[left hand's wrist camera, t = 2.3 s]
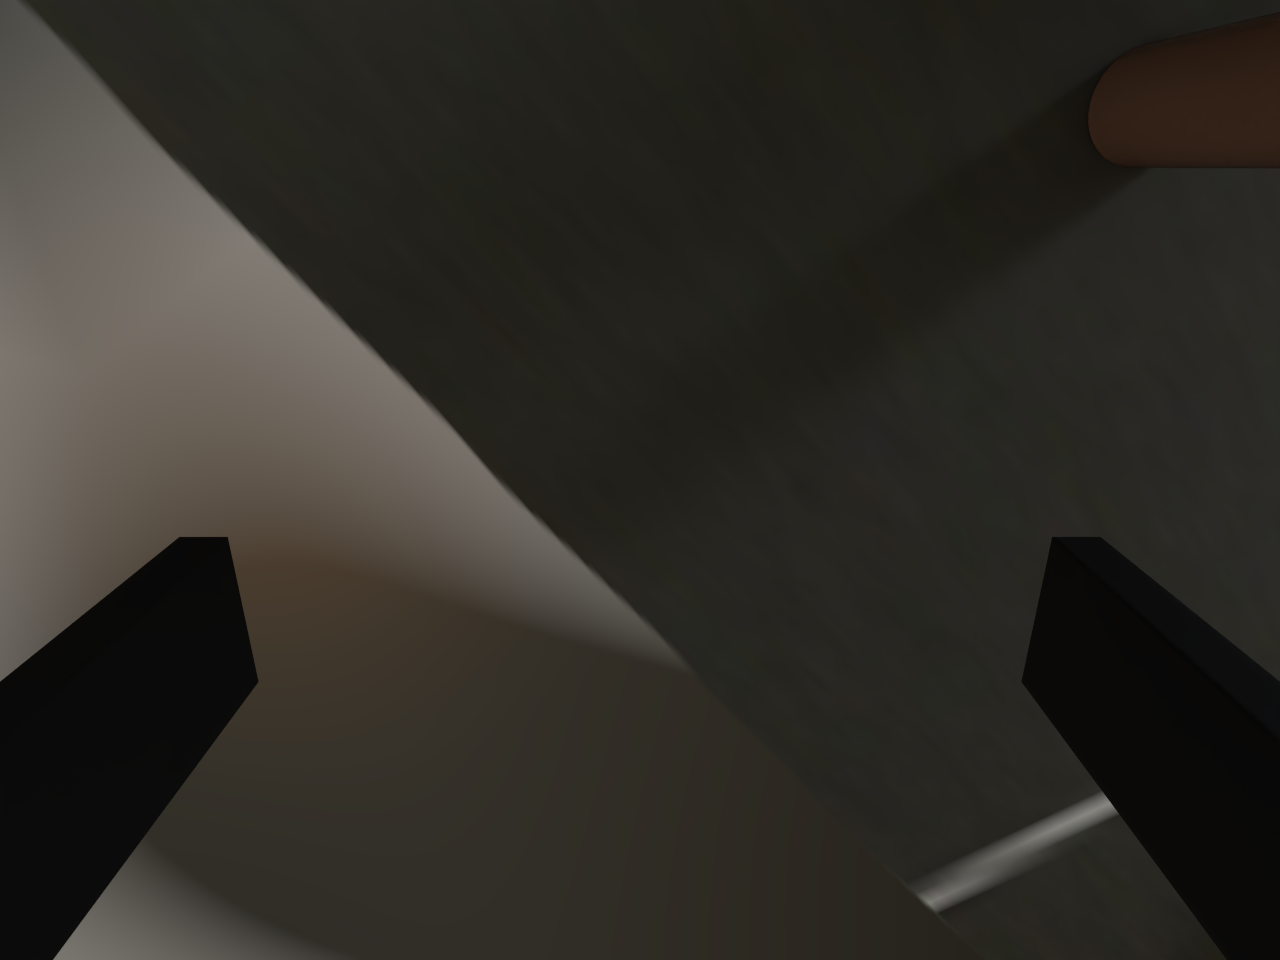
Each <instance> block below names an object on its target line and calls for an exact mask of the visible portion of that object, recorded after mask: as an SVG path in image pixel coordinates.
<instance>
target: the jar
mask: <svg viewBox="0 0 1280 960" xmlns="http://www.w3.org/2000/svg"><path fill="white" fill-rule="evenodd" d="M1088 126H1089V132H1090V136H1091V139H1092V141H1093V144H1094V145H1095V147H1096V149H1097V150H1098V151H1099V153H1100V154H1101V155H1102V156H1103V157H1104V158H1106V159H1107V160H1108V161H1110V162H1112V163H1114V164H1116V165H1118V166H1123V167H1129V168H1280V12H1276V13H1272V14H1268V15H1264V16H1260V17H1256V18H1252V19H1247V20H1243V21H1239V22H1235V23H1231V24H1227V25H1222V26H1218V27H1214V28H1210V29H1206V30H1202V31H1198V32H1193V33H1189V34H1185V35H1181V36H1177V37H1173V38H1168V39H1164V40H1160V41H1156V42H1152V43H1148V44H1144V45H1141V46H1138V47H1136V48H1134V49H1132V50H1130V51H1128V52H1127V53H1125V54H1124V55H1122V56H1121V57H1120V58H1118V59H1117V60H1116V61H1115V62H1114V63H1113V64H1112V65H1111V66H1110V67H1109V68H1108V69H1107V71H1106V72H1105V73H1104V74H1103V76H1102V77H1101V79H1100V80H1099V82H1098V84H1097V86H1096V88H1095V90H1094V93H1093V95H1092V98H1091V102H1090V106H1089V112H1088Z"/></svg>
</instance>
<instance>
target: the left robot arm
mask: <svg viewBox="0 0 1280 960" xmlns="http://www.w3.org/2000/svg"><path fill="white" fill-rule="evenodd" d="M257 683H258V678H257V673H256V668H255V663H254V659H253V654H252V649H251V645H250V640H249V635H248V630H247V626H246V621H245V616H244V612H243V607H242V602H241V597H240V593H239V588H238V583H237V579H236V574H235V569H234V565H233V560H232V555H231V550H230V546H229V541H228V537H179V538H178V539H177V540H175V541H174V542H173V543H172V544H170V545H169V546H168V547H167V548H165V549H164V550H163V551H162V552H160V553H159V554H158V555H157V556H155V557H154V558H153V559H152V560H150V561H149V562H148V563H147V564H146V565H144V566H143V567H142V568H141V569H139V570H138V571H137V572H136V573H134V574H133V575H132V576H131V577H129V578H128V579H127V580H126V581H124V582H123V583H122V584H121V585H120V586H118V587H117V588H116V589H115V590H113V591H112V592H111V593H110V594H108V595H107V596H106V597H105V598H103V599H102V600H101V601H100V602H98V603H97V604H96V605H95V606H93V607H92V608H91V609H90V610H88V611H87V612H86V613H85V614H84V615H82V616H81V617H80V618H79V619H77V620H76V621H75V622H74V623H72V624H71V625H70V626H69V627H67V628H66V629H65V630H64V631H62V632H61V633H60V634H59V635H58V636H56V637H55V638H54V639H53V640H51V641H50V642H49V643H48V644H46V645H45V646H44V647H43V648H41V649H40V650H39V651H38V652H36V653H35V654H34V655H33V656H31V657H30V658H29V659H28V660H27V661H25V662H24V663H23V664H22V665H20V666H19V667H18V668H17V669H15V670H14V671H13V672H12V673H10V674H9V675H8V676H7V677H5V678H4V679H3V680H2V681H1V682H0V960H53V959H54V958H55V956H56V955H57V954H58V952H59V951H60V950H61V948H62V947H63V945H64V944H65V943H66V941H67V940H68V939H69V937H70V936H71V935H72V933H73V932H74V931H75V929H76V928H77V927H78V925H79V924H80V922H81V921H82V920H83V918H84V917H85V916H86V914H87V913H88V912H89V910H90V909H91V908H92V906H93V905H94V904H95V902H96V901H97V899H98V898H99V897H100V895H101V894H102V893H103V891H104V890H105V889H106V887H107V886H108V885H109V883H110V882H111V881H112V879H113V878H114V876H115V875H116V874H117V872H118V871H119V870H120V868H121V867H122V866H123V864H124V863H125V862H126V860H127V859H128V857H129V856H130V855H131V854H132V852H133V851H134V849H135V848H136V847H137V845H138V844H139V843H140V841H141V840H142V839H143V837H144V836H145V835H146V833H147V832H148V830H149V829H150V828H151V826H152V825H153V824H154V822H155V821H156V820H157V818H158V817H159V816H160V814H161V813H162V812H163V810H164V809H165V808H166V806H167V805H168V803H169V802H170V801H171V799H172V798H173V797H174V795H175V794H176V793H177V791H178V790H179V789H180V787H181V786H182V785H183V783H184V782H185V780H186V779H187V778H188V776H189V775H190V774H191V772H192V771H193V770H194V768H195V767H196V766H197V764H198V763H199V761H200V760H201V759H202V757H203V756H204V755H205V753H206V752H207V751H208V749H209V748H210V747H211V745H212V744H213V743H214V741H215V740H216V739H217V737H218V736H219V734H220V733H221V732H222V730H223V729H224V728H225V726H226V725H227V724H228V722H229V721H230V720H231V718H232V717H233V716H234V714H235V713H236V711H237V710H238V709H239V707H240V706H241V705H242V703H243V702H244V701H245V699H246V698H247V697H248V695H249V694H250V693H251V691H252V690H253V688H254V687H255V686H256V684H257ZM1022 683H1023V684H1024V686H1025V687H1026V688H1027V690H1028V691H1029V693H1030V694H1031V695H1032V697H1033V698H1034V699H1035V701H1036V702H1037V703H1038V705H1039V706H1040V707H1041V709H1042V710H1043V711H1044V713H1045V714H1046V716H1047V717H1048V718H1049V720H1050V721H1051V722H1052V724H1053V725H1054V726H1055V728H1056V729H1057V730H1058V732H1059V733H1060V734H1061V736H1062V737H1063V739H1064V740H1065V741H1066V743H1067V744H1068V745H1069V747H1070V748H1071V749H1072V751H1073V752H1074V753H1075V755H1076V756H1077V757H1078V759H1079V760H1080V762H1081V763H1082V764H1083V766H1084V767H1085V768H1086V770H1087V771H1088V772H1089V774H1090V775H1091V776H1092V778H1093V779H1094V780H1095V782H1096V783H1097V785H1098V786H1099V787H1100V789H1101V790H1102V791H1103V793H1104V794H1105V795H1106V797H1107V798H1108V799H1109V801H1110V802H1111V803H1112V805H1113V806H1114V808H1115V809H1116V810H1117V812H1118V813H1119V814H1120V816H1121V817H1122V818H1123V820H1124V821H1125V822H1126V824H1127V825H1128V826H1129V828H1130V829H1131V831H1132V832H1133V833H1134V835H1135V836H1136V837H1137V839H1138V840H1139V841H1140V843H1141V844H1142V845H1143V847H1144V848H1145V849H1146V851H1147V852H1148V854H1149V855H1150V856H1151V858H1152V859H1153V860H1154V862H1155V863H1156V864H1157V866H1158V867H1159V868H1160V870H1161V871H1162V872H1163V874H1164V875H1165V877H1166V878H1167V879H1168V881H1169V882H1170V883H1171V885H1172V886H1173V887H1174V889H1175V890H1176V891H1177V893H1178V894H1179V895H1180V897H1181V898H1182V900H1183V901H1184V902H1185V904H1186V905H1187V906H1188V908H1189V909H1190V910H1191V912H1192V913H1193V914H1194V916H1195V917H1196V918H1197V920H1198V921H1199V923H1200V924H1201V925H1202V927H1203V928H1204V929H1205V931H1206V932H1207V933H1208V935H1209V936H1210V937H1211V939H1212V940H1213V941H1214V943H1215V944H1216V945H1217V947H1218V948H1219V950H1220V951H1221V952H1222V954H1223V955H1224V956H1225V958H1226V959H1227V960H1280V681H1278V680H1277V679H1276V678H1275V677H1273V676H1272V675H1271V674H1270V673H1268V672H1267V671H1266V670H1265V669H1263V668H1262V667H1261V666H1260V665H1258V664H1257V663H1256V662H1255V661H1253V660H1252V659H1251V658H1250V657H1249V656H1247V655H1246V654H1245V653H1244V652H1242V651H1241V650H1240V649H1239V648H1237V647H1236V646H1235V645H1234V644H1232V643H1231V642H1230V641H1229V640H1227V639H1226V638H1225V637H1224V636H1222V635H1221V634H1220V633H1219V632H1218V631H1216V630H1215V629H1214V628H1213V627H1211V626H1210V625H1209V624H1208V623H1206V622H1205V621H1204V620H1203V619H1201V618H1200V617H1199V616H1198V615H1196V614H1195V613H1194V612H1193V611H1191V610H1190V609H1189V608H1188V607H1187V606H1185V605H1184V604H1183V603H1182V602H1180V601H1179V600H1178V599H1177V598H1175V597H1174V596H1173V595H1172V594H1170V593H1169V592H1168V591H1167V590H1165V589H1164V588H1163V587H1162V586H1161V585H1159V584H1158V583H1157V582H1156V581H1154V580H1153V579H1152V578H1151V577H1149V576H1148V575H1147V574H1146V573H1144V572H1143V571H1142V570H1141V569H1139V568H1138V567H1137V566H1136V565H1134V564H1133V563H1132V562H1131V561H1130V560H1128V559H1127V558H1126V557H1125V556H1123V555H1122V554H1121V553H1120V552H1118V551H1117V550H1116V549H1115V548H1113V547H1112V546H1111V545H1110V544H1108V543H1107V542H1106V541H1105V540H1103V539H1102V538H1101V537H1052V541H1051V546H1050V550H1049V555H1048V560H1047V564H1046V569H1045V574H1044V579H1043V583H1042V588H1041V593H1040V597H1039V602H1038V607H1037V612H1036V616H1035V621H1034V626H1033V630H1032V635H1031V640H1030V644H1029V649H1028V654H1027V659H1026V663H1025V668H1024V673H1023V677H1022Z"/></svg>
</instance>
